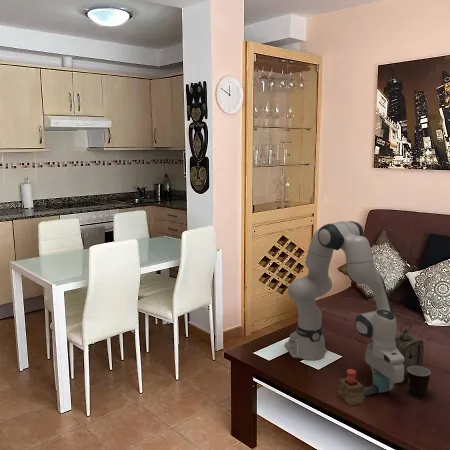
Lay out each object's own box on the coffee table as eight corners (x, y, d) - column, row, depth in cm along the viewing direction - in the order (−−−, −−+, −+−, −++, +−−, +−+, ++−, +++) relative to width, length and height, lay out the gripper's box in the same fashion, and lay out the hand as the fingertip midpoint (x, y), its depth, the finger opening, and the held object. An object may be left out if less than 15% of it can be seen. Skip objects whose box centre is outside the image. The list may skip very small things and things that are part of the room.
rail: (355, 394, 187) (355, 381, 186) (389, 387, 193) (390, 373, 192) (361, 399, 184) (361, 385, 183) (396, 392, 189) (396, 378, 188)
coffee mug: (410, 386, 193) (411, 363, 192) (431, 392, 188) (433, 369, 186) (400, 398, 185) (401, 374, 183) (423, 405, 179) (424, 381, 177)
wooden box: (338, 395, 187) (339, 379, 186) (351, 392, 189) (351, 376, 188) (350, 405, 180) (350, 389, 179) (363, 402, 182) (363, 386, 181)
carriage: (372, 387, 190) (372, 373, 189) (384, 384, 192) (385, 371, 191) (380, 393, 186) (380, 379, 185) (392, 390, 188) (393, 376, 187)
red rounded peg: (344, 383, 185) (345, 369, 184) (352, 381, 186) (352, 368, 185) (349, 387, 181) (350, 374, 180) (357, 386, 182) (358, 372, 181)
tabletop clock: (401, 386, 193) (404, 329, 189) (383, 377, 201) (385, 323, 197) (422, 376, 201) (425, 322, 197) (404, 368, 209) (406, 315, 204)
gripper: (361, 341, 195) (360, 372, 197) (394, 362, 176) (392, 396, 178) (374, 339, 197) (373, 369, 199) (407, 359, 178) (406, 393, 180)
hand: (382, 382), depth 189 cm, fingers open, 8 cm apart
